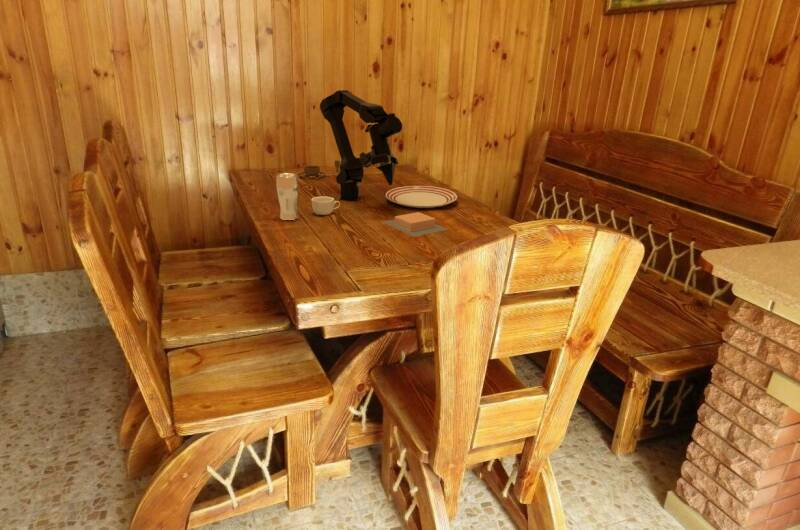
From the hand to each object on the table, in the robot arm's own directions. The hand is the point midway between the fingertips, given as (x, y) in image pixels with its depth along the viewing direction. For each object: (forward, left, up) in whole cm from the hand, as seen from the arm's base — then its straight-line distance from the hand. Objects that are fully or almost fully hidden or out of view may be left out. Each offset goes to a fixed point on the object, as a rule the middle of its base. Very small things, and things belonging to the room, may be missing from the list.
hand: (391, 185), depth 188 cm
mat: (+10, -15, -10) cm, 21 cm away
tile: (+7, -12, -8) cm, 16 cm away
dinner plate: (+10, +17, -10) cm, 22 cm away
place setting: (-38, +53, -11) cm, 66 cm away
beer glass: (-33, -13, -10) cm, 37 cm away
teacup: (-22, -5, -10) cm, 25 cm away
